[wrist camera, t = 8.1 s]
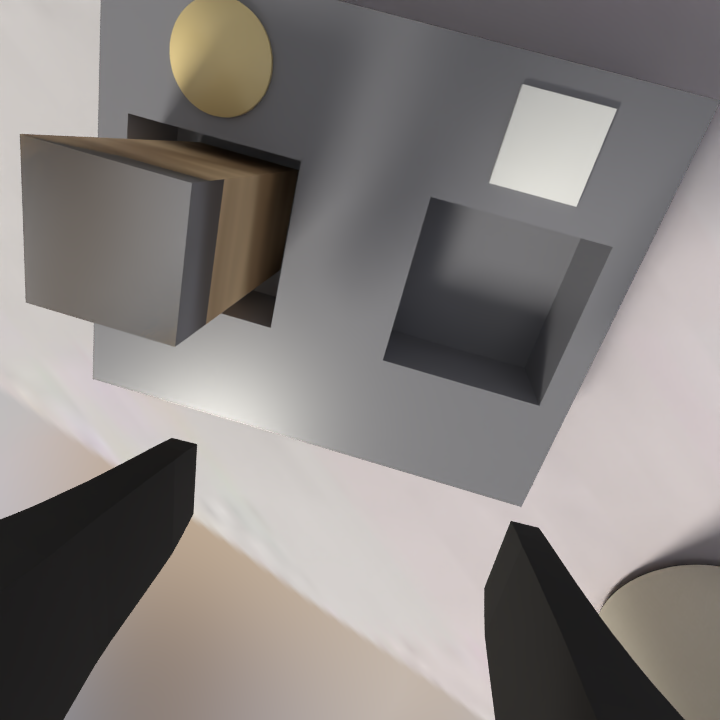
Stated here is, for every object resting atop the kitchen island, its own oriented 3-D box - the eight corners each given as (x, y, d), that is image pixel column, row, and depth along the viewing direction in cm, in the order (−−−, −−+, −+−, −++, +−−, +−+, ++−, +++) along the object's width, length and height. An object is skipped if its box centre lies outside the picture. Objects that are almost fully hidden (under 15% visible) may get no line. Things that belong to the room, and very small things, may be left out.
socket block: (655, 112, 16) (725, 100, 12) (507, 445, 21) (522, 510, 17) (177, -14, 16) (97, -66, 12) (151, 340, 22) (89, 381, 18)
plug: (298, 170, 17) (191, 182, 10) (280, 269, 18) (175, 346, 11) (199, 142, 17) (19, 134, 10) (188, 243, 19) (25, 302, 11)
